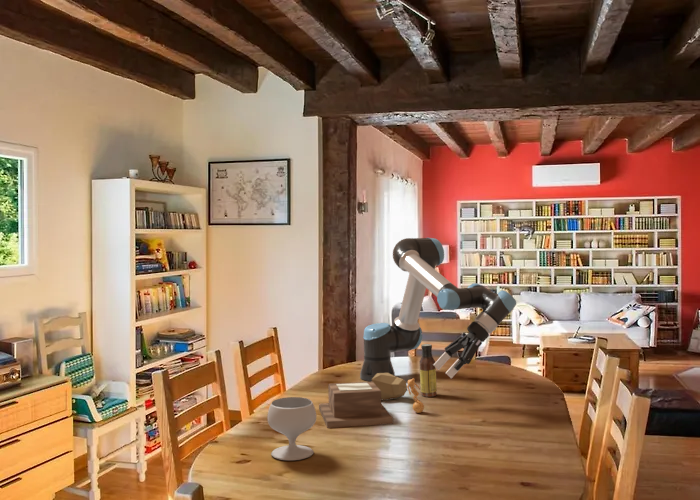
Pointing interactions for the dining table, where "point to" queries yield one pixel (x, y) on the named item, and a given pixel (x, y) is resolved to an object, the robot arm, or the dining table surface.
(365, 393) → the pedestal
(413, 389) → the figurine
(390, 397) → the low-poly potato
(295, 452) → the chalice
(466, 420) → the dining table surface
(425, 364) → the sauce bottle
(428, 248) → the robot arm
